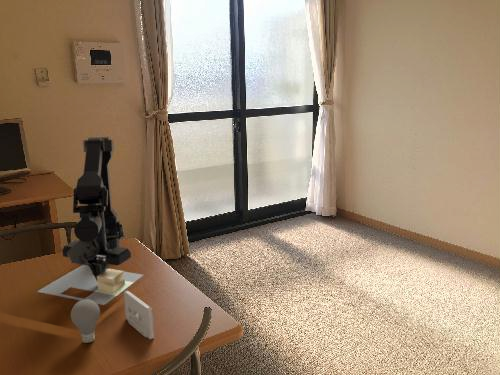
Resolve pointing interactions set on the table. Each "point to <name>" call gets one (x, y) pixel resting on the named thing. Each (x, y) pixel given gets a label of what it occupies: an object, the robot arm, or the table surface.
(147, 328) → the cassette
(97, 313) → the light bulb
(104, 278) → the maple block
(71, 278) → the board
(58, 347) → the table surface
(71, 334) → the table surface
